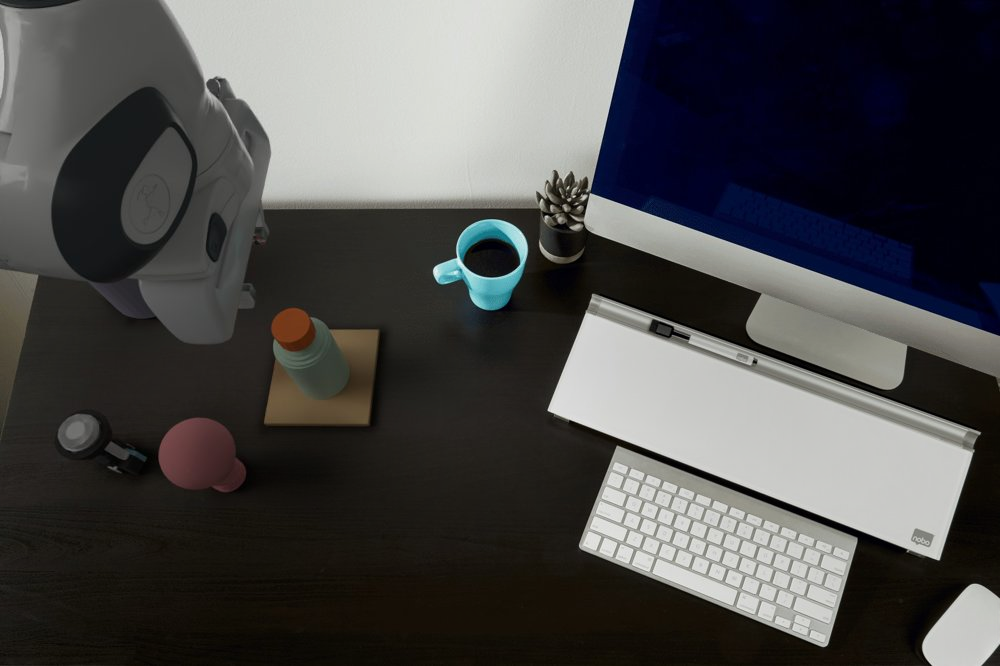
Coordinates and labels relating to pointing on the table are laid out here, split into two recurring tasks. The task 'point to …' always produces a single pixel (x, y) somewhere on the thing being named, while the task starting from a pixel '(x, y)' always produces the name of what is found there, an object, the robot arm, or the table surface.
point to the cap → (293, 329)
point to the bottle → (316, 364)
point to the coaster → (341, 408)
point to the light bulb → (201, 456)
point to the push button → (96, 442)
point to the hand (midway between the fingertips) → (253, 269)
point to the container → (125, 297)
